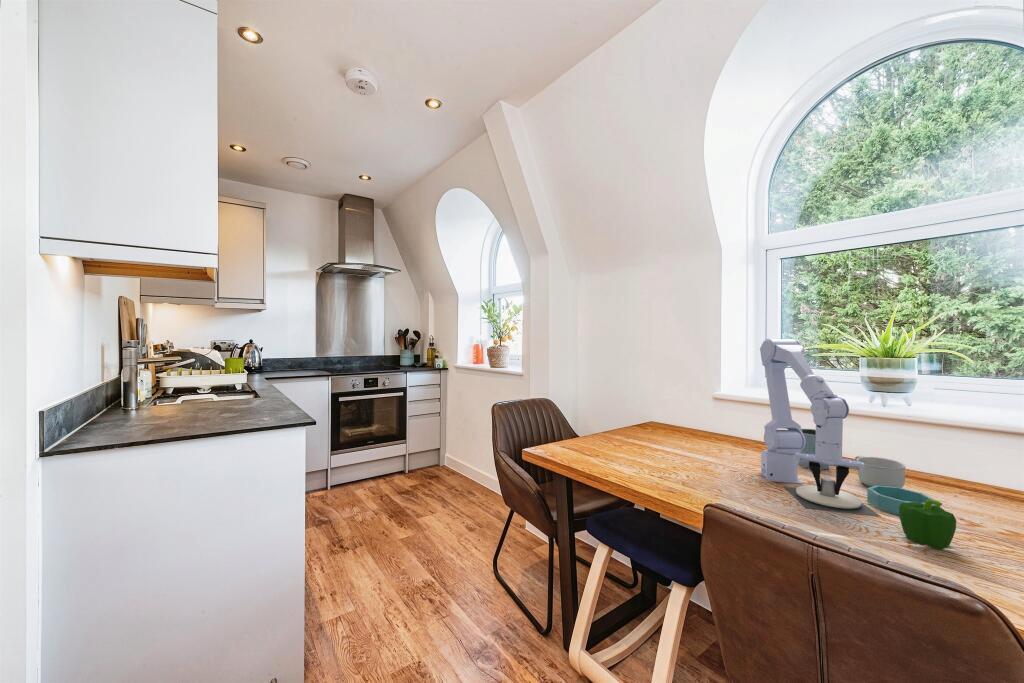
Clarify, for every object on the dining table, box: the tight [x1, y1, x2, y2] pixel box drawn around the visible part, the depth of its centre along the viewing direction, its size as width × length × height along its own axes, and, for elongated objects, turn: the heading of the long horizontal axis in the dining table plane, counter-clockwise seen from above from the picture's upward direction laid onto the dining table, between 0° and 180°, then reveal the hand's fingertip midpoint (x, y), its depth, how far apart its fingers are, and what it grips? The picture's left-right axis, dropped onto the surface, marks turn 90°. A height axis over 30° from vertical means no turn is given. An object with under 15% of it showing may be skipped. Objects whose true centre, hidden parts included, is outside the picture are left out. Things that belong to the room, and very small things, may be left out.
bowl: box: [866, 485, 937, 516], centre depth 105 cm, size 12×12×4 cm
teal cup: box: [798, 428, 830, 471], centre depth 141 cm, size 10×10×12 cm
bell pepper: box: [898, 499, 957, 550], centre depth 87 cm, size 8×8×10 cm
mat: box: [783, 486, 882, 518], centre depth 110 cm, size 16×16×1 cm
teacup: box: [854, 455, 907, 488], centre depth 122 cm, size 14×11×8 cm
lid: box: [795, 477, 863, 509], centre depth 110 cm, size 14×14×5 cm
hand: (827, 492), depth 110 cm, fingers closed on lid, 3 cm apart
